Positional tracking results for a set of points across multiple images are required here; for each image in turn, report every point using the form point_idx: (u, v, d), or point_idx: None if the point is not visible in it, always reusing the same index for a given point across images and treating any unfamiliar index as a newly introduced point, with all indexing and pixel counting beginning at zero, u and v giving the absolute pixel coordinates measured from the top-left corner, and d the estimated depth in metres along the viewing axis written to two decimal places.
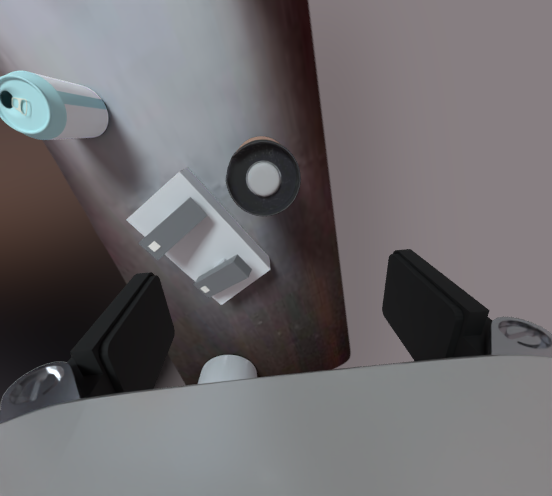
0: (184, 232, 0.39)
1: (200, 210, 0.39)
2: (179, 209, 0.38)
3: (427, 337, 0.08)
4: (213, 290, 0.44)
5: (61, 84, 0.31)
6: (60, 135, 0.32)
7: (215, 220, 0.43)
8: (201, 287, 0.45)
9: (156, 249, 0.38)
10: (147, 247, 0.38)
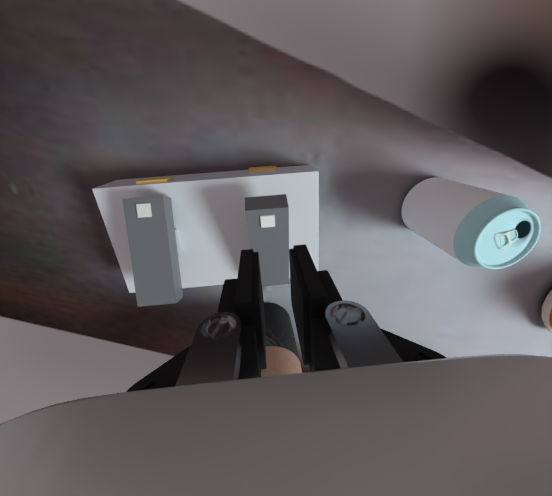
0: None
1: (267, 283, 0.28)
2: (286, 268, 0.27)
3: (300, 321, 0.09)
4: (136, 224, 0.24)
5: None
6: (453, 230, 0.24)
7: None
8: (150, 206, 0.23)
9: (260, 221, 0.22)
10: (273, 212, 0.21)
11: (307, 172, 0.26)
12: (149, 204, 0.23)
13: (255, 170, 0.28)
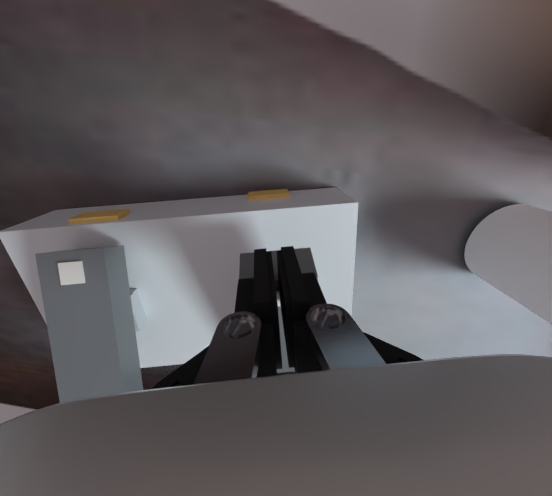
0: None
1: None
2: None
3: (284, 323, 0.09)
4: (59, 295, 0.14)
5: None
6: None
7: None
8: (83, 266, 0.14)
9: None
10: None
11: (340, 204, 0.16)
12: (80, 263, 0.14)
13: (258, 197, 0.19)
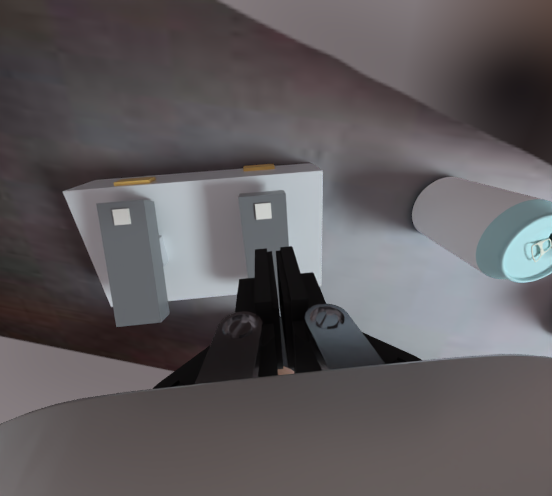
0: (250, 266, 0.21)
1: None
2: None
3: None
4: (112, 232, 0.20)
5: None
6: (476, 238, 0.21)
7: (235, 284, 0.27)
8: (129, 212, 0.20)
9: (255, 210, 0.20)
10: (269, 199, 0.20)
11: (310, 172, 0.23)
12: (127, 209, 0.20)
13: (251, 169, 0.25)
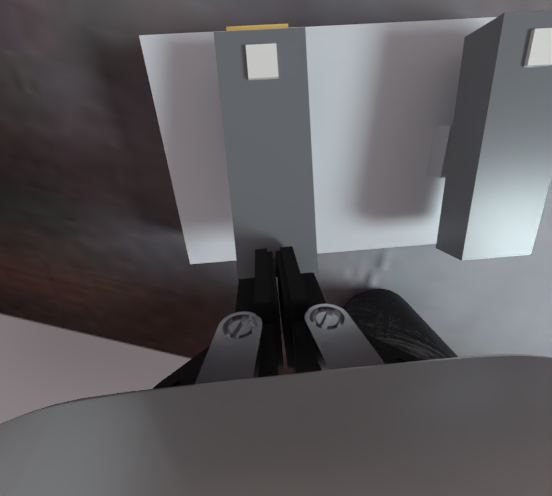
0: (485, 170, 0.12)
1: (486, 252, 0.13)
2: (537, 206, 0.12)
3: None
4: (242, 96, 0.10)
5: None
6: None
7: (386, 231, 0.17)
8: (277, 53, 0.10)
9: (532, 43, 0.10)
10: None
11: None
12: (274, 47, 0.10)
13: None
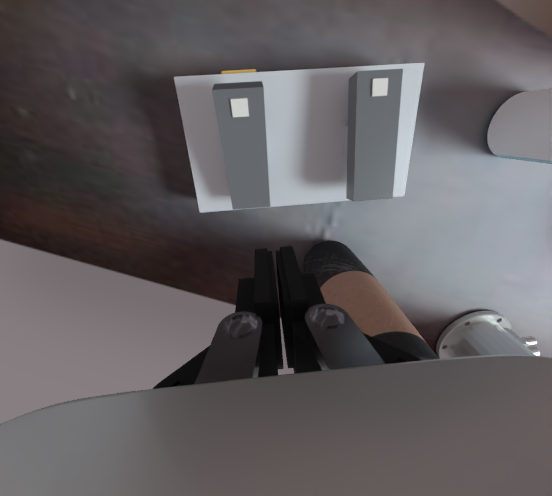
0: (359, 150, 0.22)
1: (367, 196, 0.23)
2: (391, 170, 0.23)
3: None
4: (230, 125, 0.20)
5: None
6: None
7: (322, 191, 0.27)
8: (248, 102, 0.19)
9: (373, 85, 0.20)
10: (387, 74, 0.20)
11: (411, 64, 0.23)
12: (246, 99, 0.19)
13: None
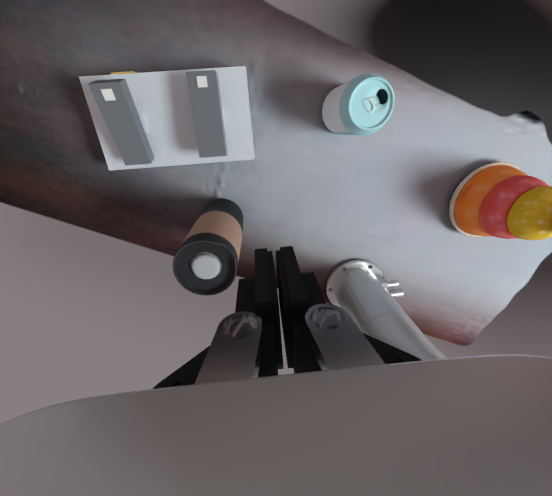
0: (196, 122, 0.34)
1: (208, 154, 0.35)
2: (221, 136, 0.34)
3: None
4: (105, 105, 0.32)
5: None
6: (338, 103, 0.33)
7: (194, 155, 0.39)
8: (112, 91, 0.31)
9: (197, 80, 0.32)
10: (205, 73, 0.32)
11: (237, 67, 0.35)
12: (110, 89, 0.31)
13: None
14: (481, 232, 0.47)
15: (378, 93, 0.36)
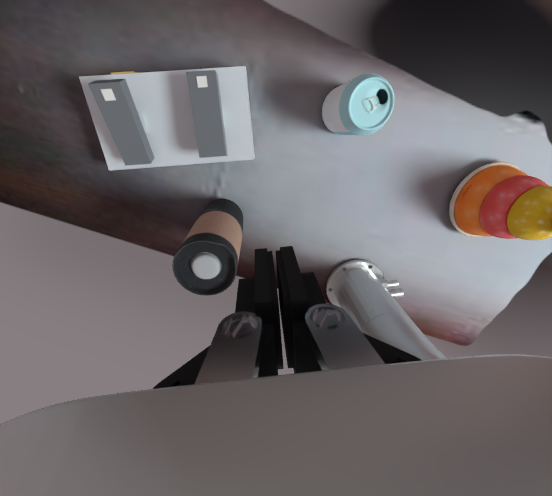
0: (196, 122, 0.34)
1: (208, 154, 0.35)
2: (221, 136, 0.34)
3: None
4: (105, 105, 0.32)
5: None
6: (338, 103, 0.33)
7: (194, 155, 0.39)
8: (112, 91, 0.31)
9: (197, 80, 0.32)
10: (205, 73, 0.32)
11: (237, 67, 0.35)
12: (110, 89, 0.31)
13: None
14: (481, 232, 0.47)
15: (378, 93, 0.36)
